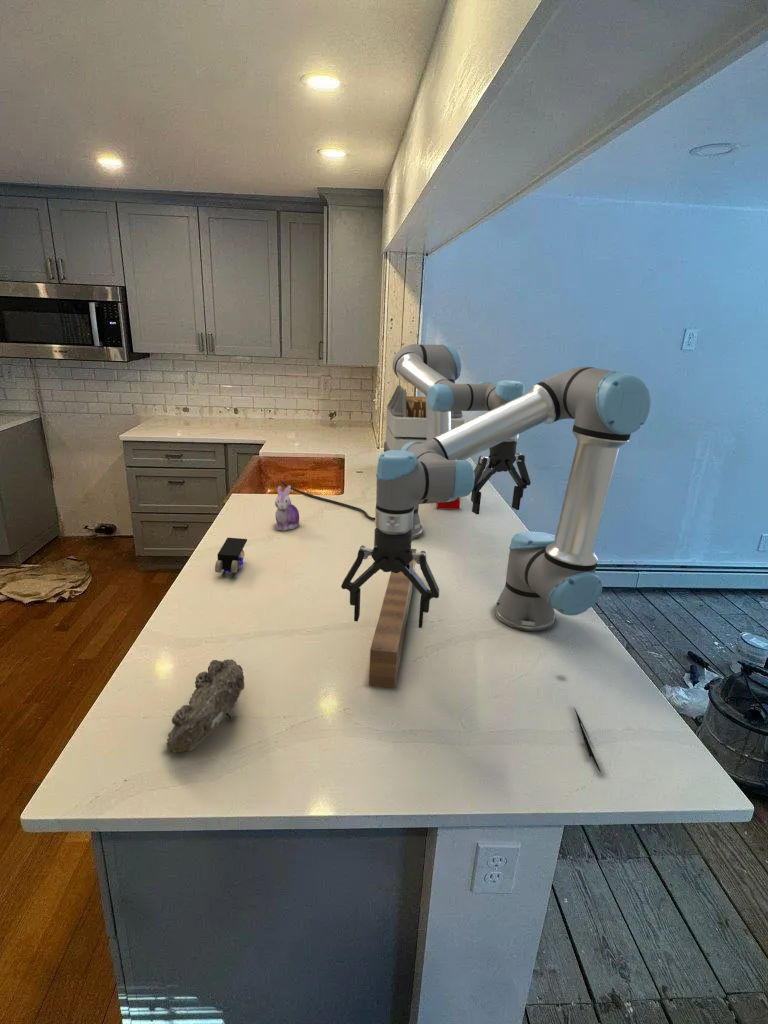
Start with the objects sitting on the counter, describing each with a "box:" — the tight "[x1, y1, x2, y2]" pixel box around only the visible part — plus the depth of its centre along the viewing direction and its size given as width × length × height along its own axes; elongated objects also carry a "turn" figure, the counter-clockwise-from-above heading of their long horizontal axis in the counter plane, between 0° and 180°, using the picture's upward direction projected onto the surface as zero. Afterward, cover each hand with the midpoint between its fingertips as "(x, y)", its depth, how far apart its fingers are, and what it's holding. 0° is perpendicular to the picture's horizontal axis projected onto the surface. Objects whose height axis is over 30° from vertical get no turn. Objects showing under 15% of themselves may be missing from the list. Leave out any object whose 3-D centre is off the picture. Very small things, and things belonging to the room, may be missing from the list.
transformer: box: [383, 384, 465, 452], centre depth 268 cm, size 34×33×41 cm
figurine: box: [274, 484, 300, 531], centre depth 199 cm, size 9×10×15 cm
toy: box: [436, 497, 462, 510], centre depth 238 cm, size 12×13×30 cm
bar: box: [368, 548, 418, 689], centre depth 143 cm, size 54×6×9 cm, turn 173°
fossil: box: [166, 658, 245, 754], centre depth 106 cm, size 22×10×15 cm
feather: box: [561, 676, 602, 773], centre depth 111 cm, size 2×28×2 cm
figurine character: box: [214, 537, 248, 578], centre depth 166 cm, size 7×8×15 cm
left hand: (495, 510), depth 164 cm, fingers open, 13 cm apart
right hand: (388, 621), depth 120 cm, fingers open, 13 cm apart
